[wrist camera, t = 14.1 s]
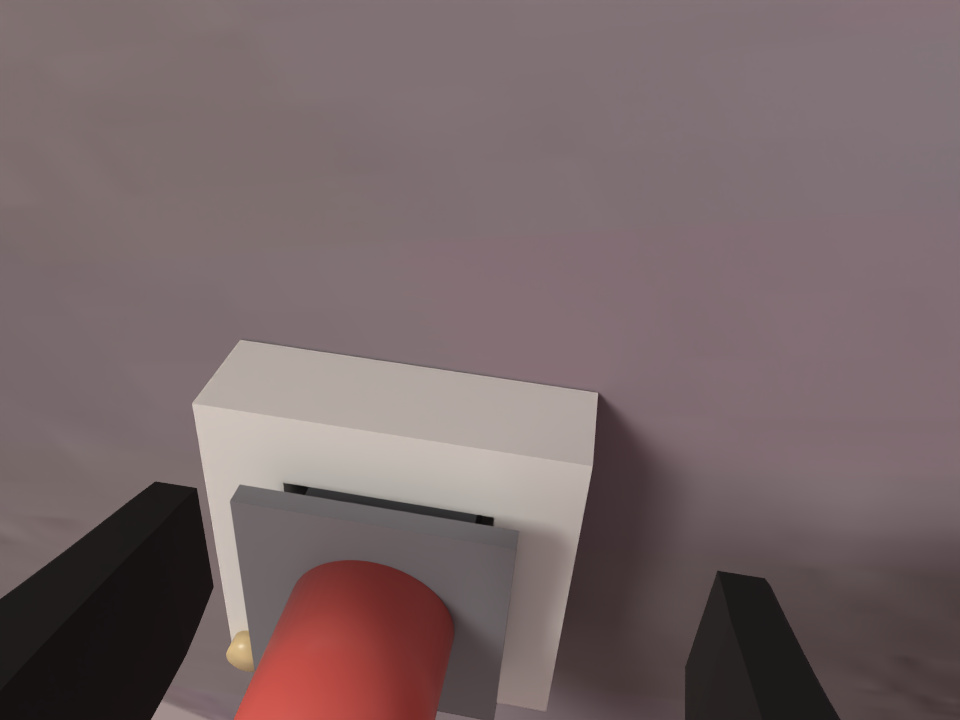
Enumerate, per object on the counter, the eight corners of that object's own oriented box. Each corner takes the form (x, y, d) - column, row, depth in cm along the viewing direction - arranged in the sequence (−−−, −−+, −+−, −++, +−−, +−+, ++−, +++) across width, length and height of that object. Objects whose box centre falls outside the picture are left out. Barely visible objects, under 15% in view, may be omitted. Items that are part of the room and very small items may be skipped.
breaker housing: (598, 392, 22) (591, 483, 19) (554, 631, 28) (543, 729, 25) (240, 339, 23) (181, 417, 20) (268, 580, 29) (226, 669, 26)
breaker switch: (533, 450, 22) (515, 549, 19) (510, 618, 26) (493, 721, 23) (282, 411, 23) (229, 500, 20) (297, 580, 27) (255, 676, 24)
